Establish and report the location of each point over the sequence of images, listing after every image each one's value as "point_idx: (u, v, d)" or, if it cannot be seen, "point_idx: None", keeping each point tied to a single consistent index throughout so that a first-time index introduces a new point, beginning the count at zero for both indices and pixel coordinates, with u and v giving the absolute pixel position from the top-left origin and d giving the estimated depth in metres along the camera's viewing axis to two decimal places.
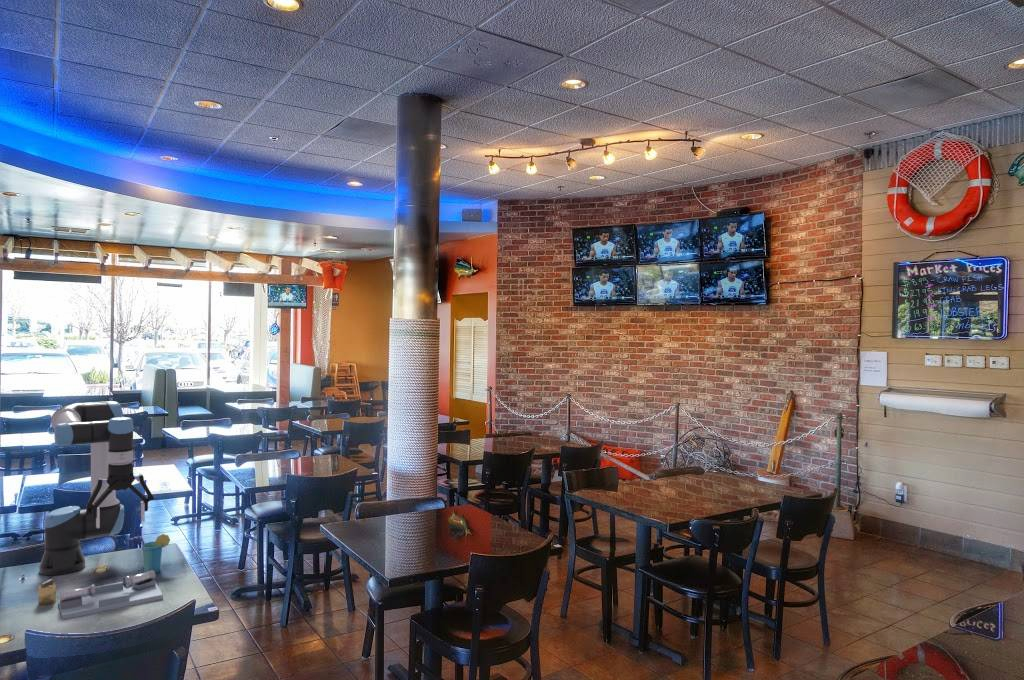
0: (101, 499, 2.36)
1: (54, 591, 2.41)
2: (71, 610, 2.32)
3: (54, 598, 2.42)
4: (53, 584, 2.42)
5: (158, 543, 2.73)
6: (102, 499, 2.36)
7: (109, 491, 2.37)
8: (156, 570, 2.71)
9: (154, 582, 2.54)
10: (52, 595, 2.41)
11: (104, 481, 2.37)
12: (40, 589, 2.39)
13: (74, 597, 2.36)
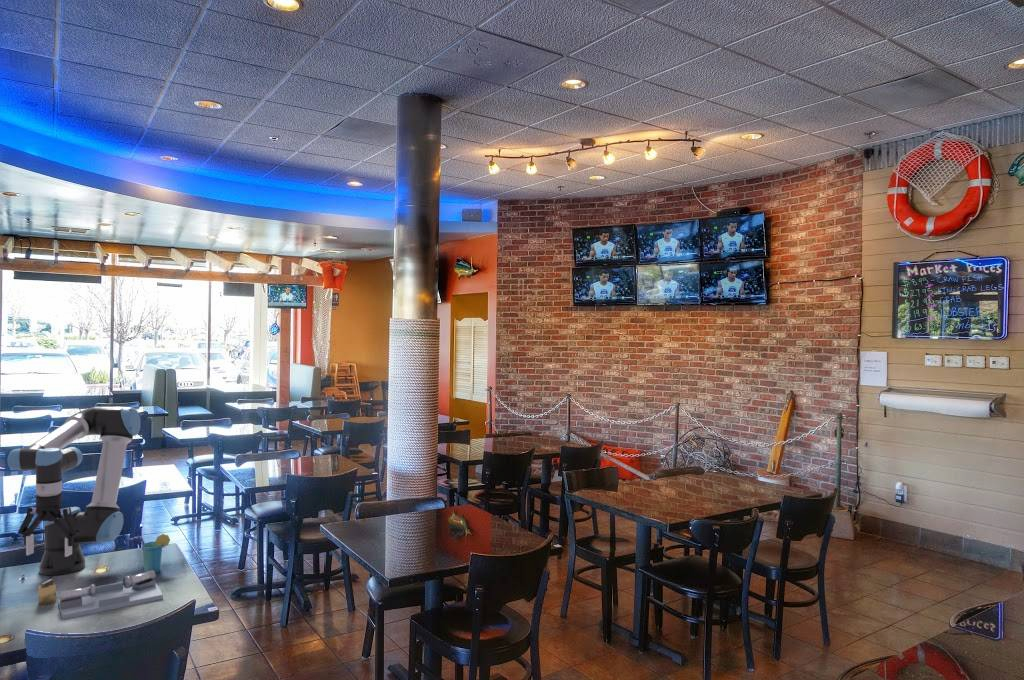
0: (30, 527, 2.40)
1: (54, 591, 2.41)
2: (71, 610, 2.32)
3: (54, 598, 2.42)
4: (53, 584, 2.42)
5: (158, 543, 2.73)
6: (30, 527, 2.40)
7: (35, 521, 2.39)
8: (156, 570, 2.71)
9: (154, 582, 2.54)
10: (52, 595, 2.41)
11: (34, 510, 2.40)
12: (40, 589, 2.39)
13: (74, 597, 2.36)
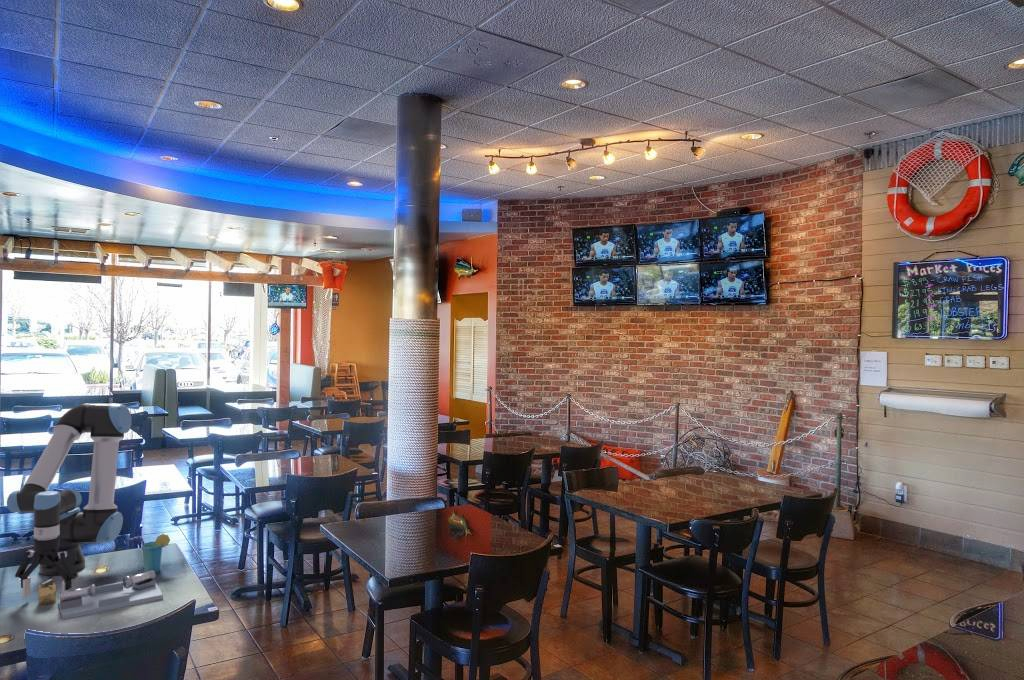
0: (27, 571, 2.40)
1: (54, 591, 2.41)
2: (71, 610, 2.32)
3: (54, 598, 2.42)
4: (53, 584, 2.42)
5: (158, 543, 2.73)
6: (27, 571, 2.40)
7: (33, 564, 2.39)
8: (156, 570, 2.71)
9: (154, 582, 2.54)
10: (52, 595, 2.41)
11: (31, 553, 2.40)
12: (40, 589, 2.39)
13: (74, 597, 2.36)
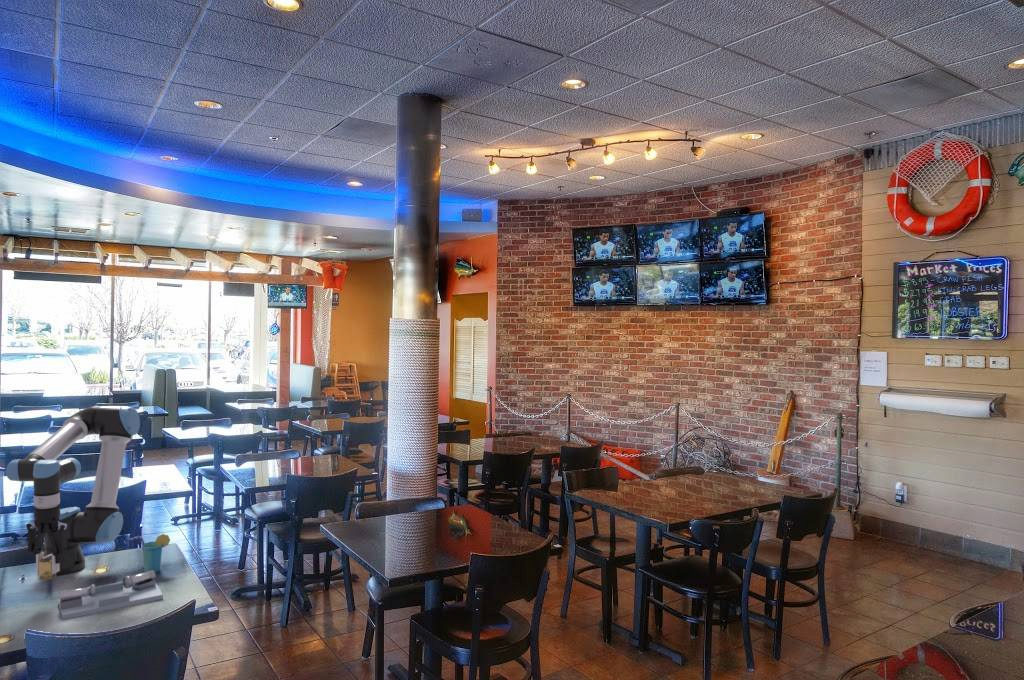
0: (36, 543, 2.40)
1: None
2: (71, 610, 2.32)
3: None
4: None
5: (158, 543, 2.73)
6: (37, 543, 2.40)
7: (38, 535, 2.39)
8: (156, 570, 2.71)
9: (154, 582, 2.54)
10: None
11: (33, 524, 2.40)
12: (40, 563, 2.39)
13: (74, 597, 2.36)
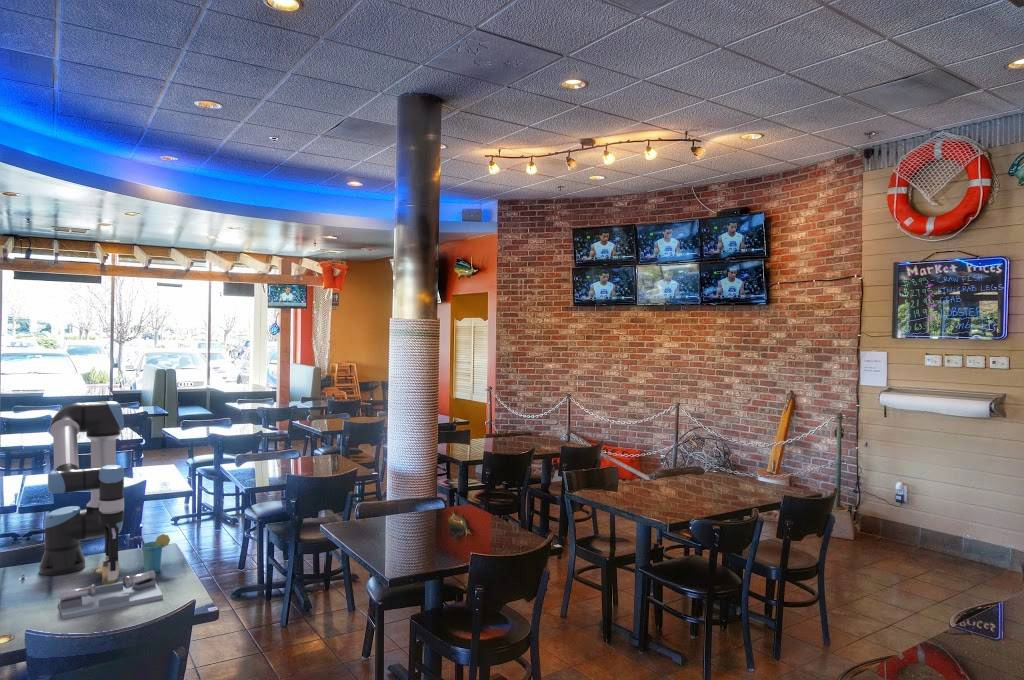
0: (106, 546, 2.45)
1: None
2: (71, 610, 2.32)
3: (111, 580, 2.41)
4: None
5: (158, 543, 2.73)
6: (106, 546, 2.44)
7: (105, 538, 2.44)
8: (156, 570, 2.71)
9: (154, 582, 2.54)
10: None
11: None
12: (102, 567, 2.42)
13: (74, 597, 2.36)
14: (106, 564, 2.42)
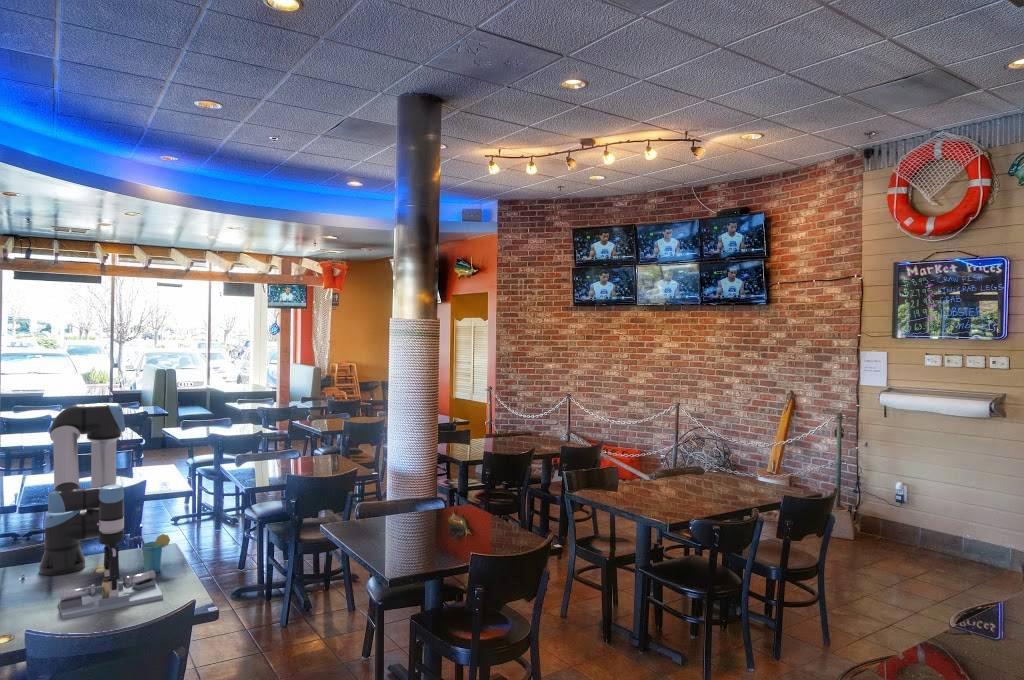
0: (105, 561, 2.46)
1: None
2: (71, 610, 2.32)
3: None
4: None
5: (158, 543, 2.73)
6: (105, 561, 2.46)
7: None
8: (156, 570, 2.71)
9: (154, 582, 2.54)
10: None
11: None
12: (102, 582, 2.42)
13: (74, 597, 2.36)
14: (106, 580, 2.42)
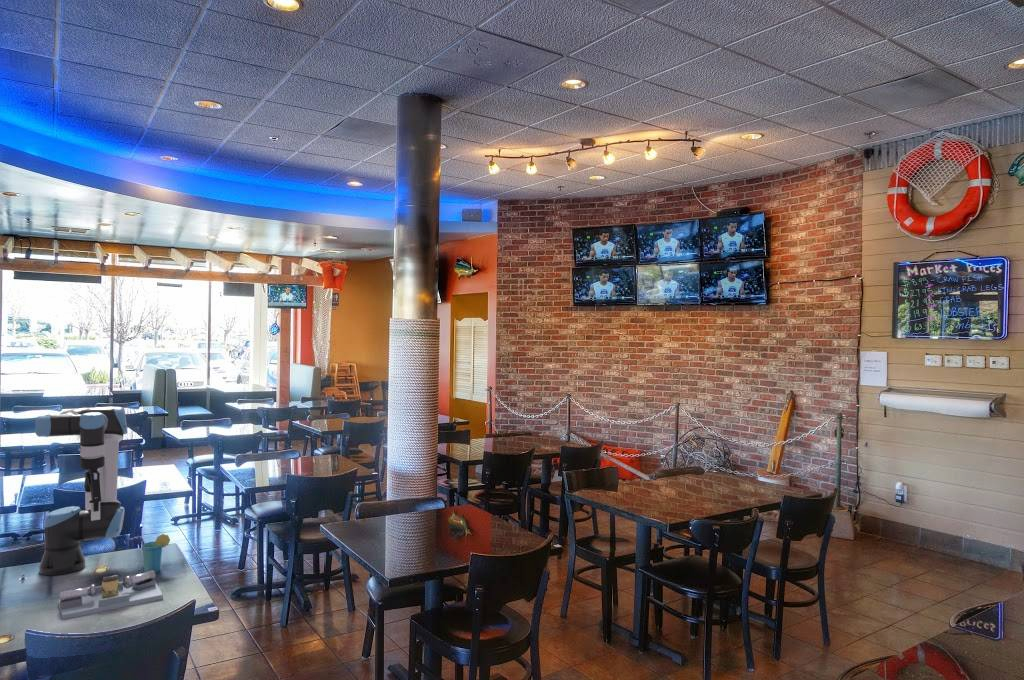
0: (86, 484, 2.54)
1: (111, 588, 2.41)
2: (71, 610, 2.32)
3: (111, 595, 2.41)
4: (114, 581, 2.42)
5: (158, 543, 2.73)
6: (86, 485, 2.53)
7: None
8: (156, 570, 2.71)
9: (154, 582, 2.54)
10: (109, 592, 2.41)
11: None
12: (102, 582, 2.42)
13: (74, 597, 2.36)
14: (106, 580, 2.42)
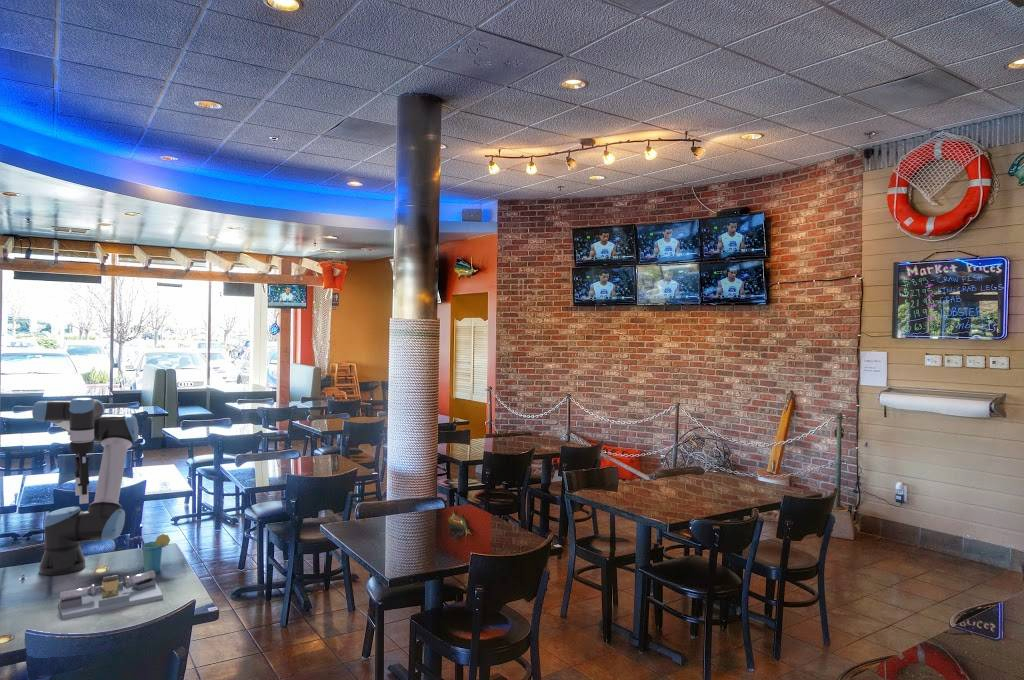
0: (76, 470, 2.57)
1: (111, 588, 2.41)
2: (71, 610, 2.32)
3: (111, 595, 2.41)
4: (114, 581, 2.42)
5: (158, 543, 2.73)
6: (76, 470, 2.57)
7: None
8: (156, 570, 2.71)
9: (154, 582, 2.54)
10: (109, 592, 2.41)
11: None
12: (102, 582, 2.42)
13: (74, 597, 2.36)
14: (106, 580, 2.42)
